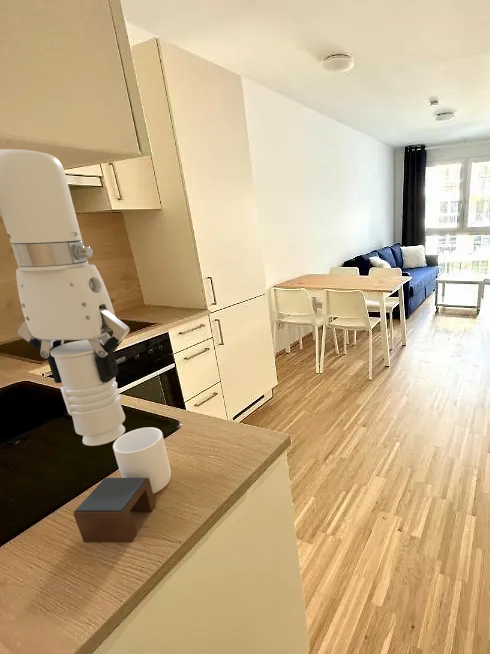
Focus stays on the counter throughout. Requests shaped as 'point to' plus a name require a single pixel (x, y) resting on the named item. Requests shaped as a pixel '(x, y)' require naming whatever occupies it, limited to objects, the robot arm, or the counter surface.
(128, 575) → the counter surface
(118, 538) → the shelf
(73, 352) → the white ribbed cylinder
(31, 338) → the robot arm
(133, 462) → the mug
